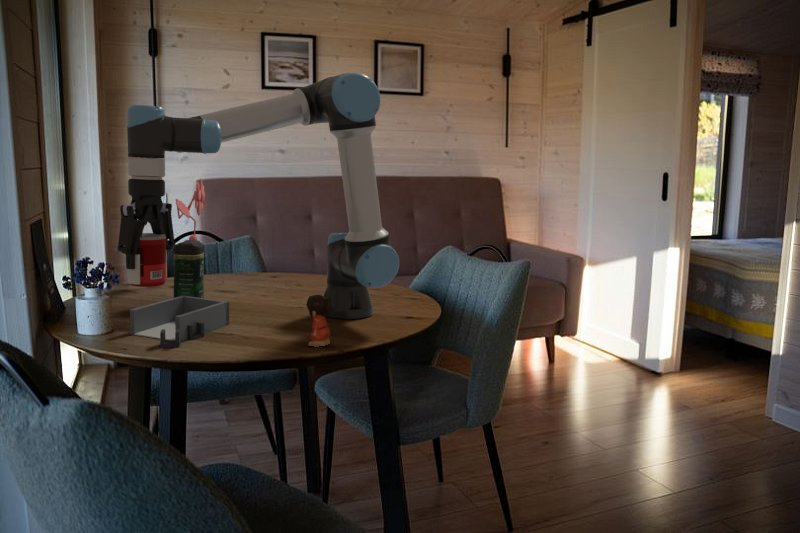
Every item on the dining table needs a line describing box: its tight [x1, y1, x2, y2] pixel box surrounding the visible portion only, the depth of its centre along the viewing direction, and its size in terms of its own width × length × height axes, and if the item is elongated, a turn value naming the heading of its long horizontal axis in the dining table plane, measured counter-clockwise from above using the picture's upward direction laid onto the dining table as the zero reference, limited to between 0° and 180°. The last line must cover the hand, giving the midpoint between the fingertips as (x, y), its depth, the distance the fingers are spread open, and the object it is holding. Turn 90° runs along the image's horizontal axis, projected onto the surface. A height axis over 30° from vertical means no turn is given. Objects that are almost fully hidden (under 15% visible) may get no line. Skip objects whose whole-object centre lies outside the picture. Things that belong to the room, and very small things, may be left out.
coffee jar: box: [173, 239, 205, 298], centre depth 191 cm, size 10×8×19 cm
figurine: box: [305, 294, 334, 348], centre depth 156 cm, size 6×6×12 cm
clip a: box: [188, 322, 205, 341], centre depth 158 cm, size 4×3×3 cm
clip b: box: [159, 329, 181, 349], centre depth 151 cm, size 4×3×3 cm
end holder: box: [129, 296, 230, 343], centre depth 164 cm, size 14×19×6 cm
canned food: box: [130, 232, 167, 288], centre depth 148 cm, size 8×8×11 cm
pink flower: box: [175, 178, 225, 286], centre depth 221 cm, size 15×26×35 cm, turn 7°
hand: (147, 280), depth 148 cm, fingers closed on canned food, 8 cm apart
